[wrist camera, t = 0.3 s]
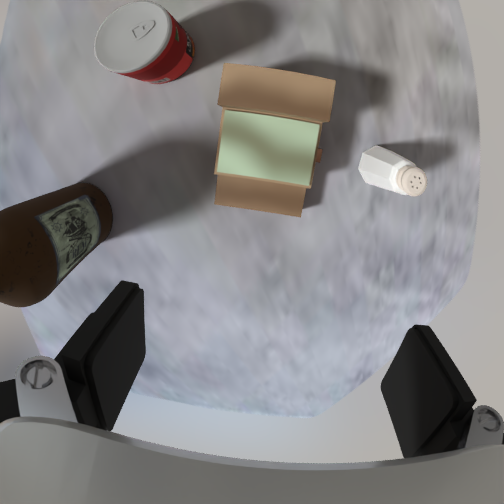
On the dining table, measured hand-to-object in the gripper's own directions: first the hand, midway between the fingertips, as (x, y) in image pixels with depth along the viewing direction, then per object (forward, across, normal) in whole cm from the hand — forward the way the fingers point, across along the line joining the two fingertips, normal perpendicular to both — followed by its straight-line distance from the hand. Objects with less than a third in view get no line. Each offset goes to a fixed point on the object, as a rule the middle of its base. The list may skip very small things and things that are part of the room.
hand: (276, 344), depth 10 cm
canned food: (+30, +15, -15) cm, 36 cm away
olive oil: (+30, +25, +7) cm, 39 cm away
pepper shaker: (+30, -13, -5) cm, 33 cm away
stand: (+30, +1, -5) cm, 30 cm away
